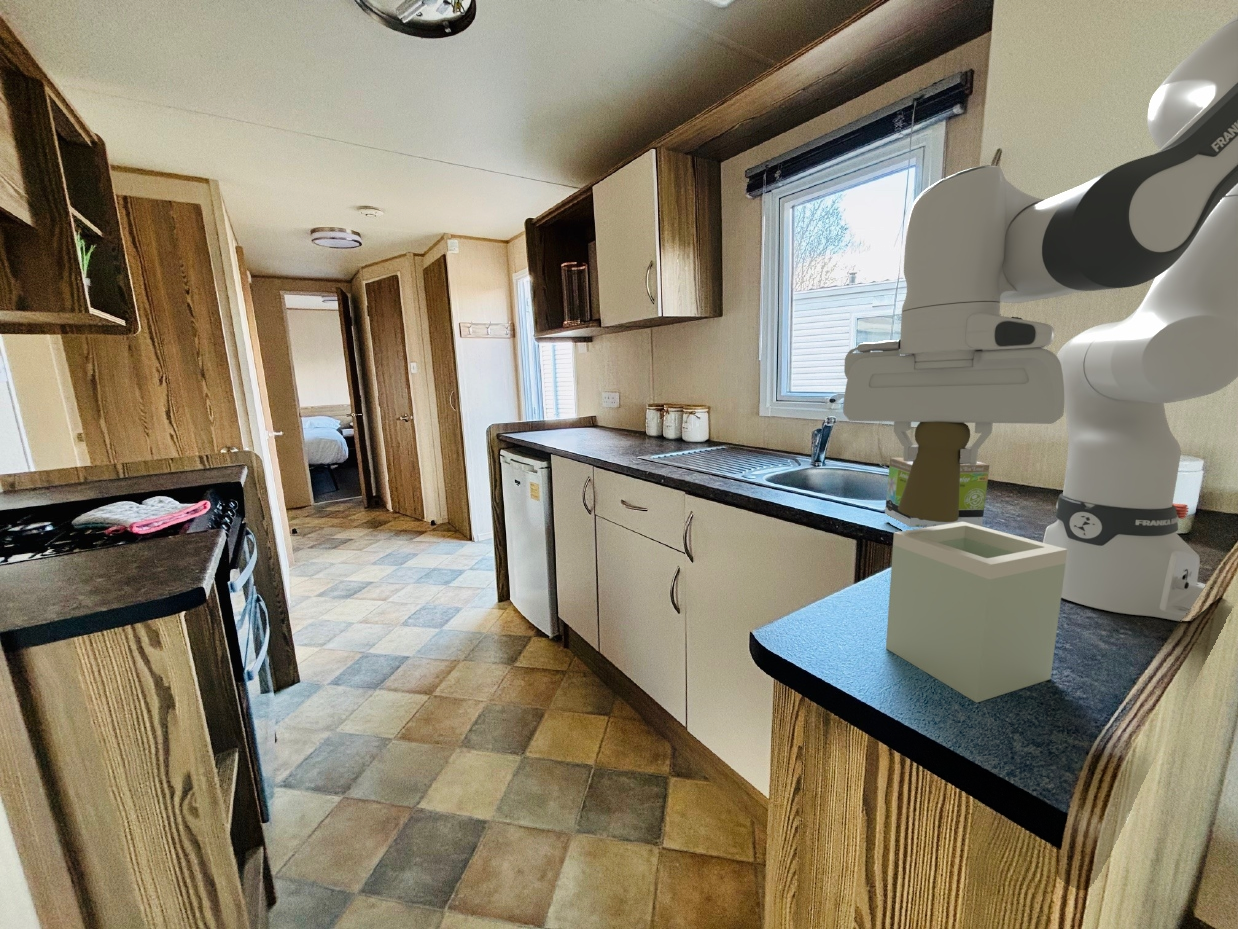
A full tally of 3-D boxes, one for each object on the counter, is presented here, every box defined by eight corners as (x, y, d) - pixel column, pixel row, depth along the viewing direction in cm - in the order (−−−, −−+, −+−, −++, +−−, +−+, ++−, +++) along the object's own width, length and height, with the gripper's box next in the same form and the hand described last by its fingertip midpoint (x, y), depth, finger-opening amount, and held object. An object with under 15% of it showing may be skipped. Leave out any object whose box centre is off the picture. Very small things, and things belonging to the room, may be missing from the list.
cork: (956, 511, 59) (974, 418, 56) (960, 526, 54) (981, 424, 51) (898, 502, 62) (913, 413, 59) (897, 515, 57) (913, 419, 54)
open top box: (952, 631, 64) (963, 521, 61) (1050, 679, 53) (1067, 549, 51) (885, 648, 60) (893, 532, 58) (976, 702, 50) (990, 564, 47)
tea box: (910, 536, 101) (915, 464, 98) (883, 522, 111) (887, 456, 108) (983, 534, 101) (991, 462, 99) (950, 520, 111) (956, 454, 109)
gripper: (837, 343, 58) (834, 460, 60) (1074, 324, 45) (1058, 474, 47) (852, 344, 63) (848, 453, 65) (1070, 328, 50) (1056, 464, 52)
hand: (939, 462), depth 56 cm, fingers closed on cork, 4 cm apart
